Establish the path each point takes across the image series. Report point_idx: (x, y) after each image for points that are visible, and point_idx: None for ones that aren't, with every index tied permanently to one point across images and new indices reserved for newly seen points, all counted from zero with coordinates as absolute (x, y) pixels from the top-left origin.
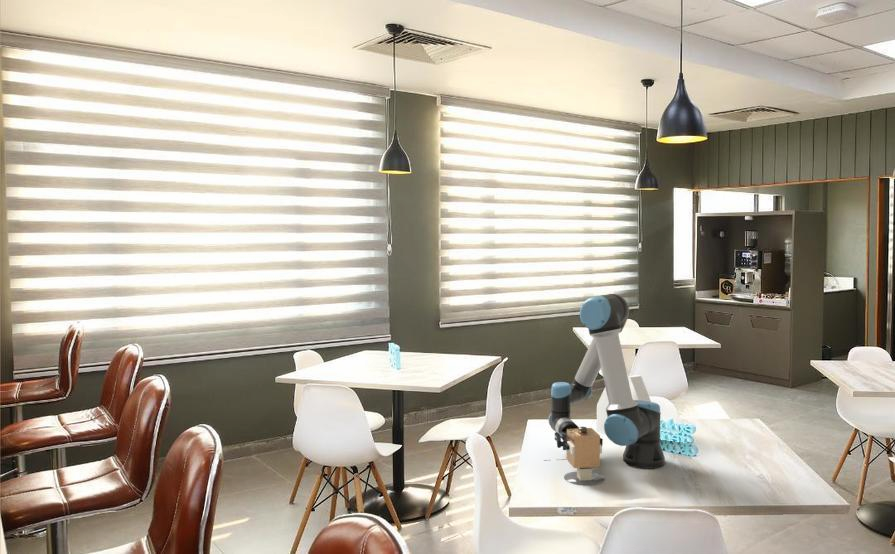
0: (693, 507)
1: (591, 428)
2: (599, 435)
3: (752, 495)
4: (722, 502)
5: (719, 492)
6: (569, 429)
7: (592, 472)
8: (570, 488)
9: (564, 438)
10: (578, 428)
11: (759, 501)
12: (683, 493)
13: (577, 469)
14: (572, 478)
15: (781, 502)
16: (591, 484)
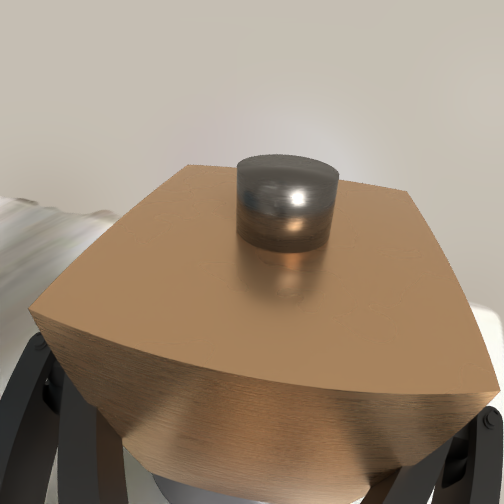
0: (119, 218)
1: (52, 291)
2: (189, 165)
3: (8, 224)
4: (62, 219)
5: (20, 241)
6: (462, 351)
7: (161, 487)
8: None
9: (432, 488)
10: (265, 372)
11: (27, 211)
12: (64, 257)
13: None
14: None
15: (16, 205)
16: None
